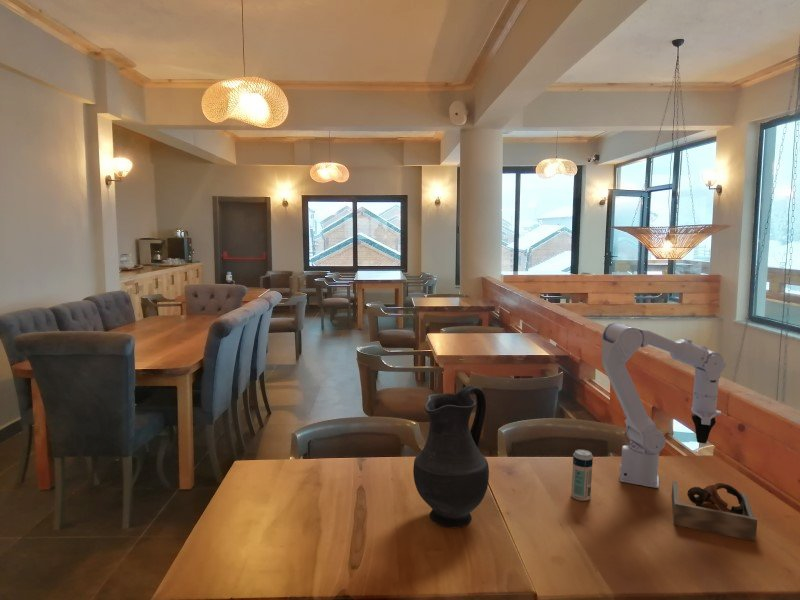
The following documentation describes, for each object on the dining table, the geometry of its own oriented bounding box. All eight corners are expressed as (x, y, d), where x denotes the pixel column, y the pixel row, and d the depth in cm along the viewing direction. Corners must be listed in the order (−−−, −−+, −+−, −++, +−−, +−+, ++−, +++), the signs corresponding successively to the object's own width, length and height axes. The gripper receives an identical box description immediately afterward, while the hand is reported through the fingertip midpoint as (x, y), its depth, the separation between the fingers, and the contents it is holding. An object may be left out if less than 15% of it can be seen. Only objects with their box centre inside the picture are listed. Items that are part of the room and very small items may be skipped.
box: (673, 524, 125) (675, 503, 125) (671, 495, 139) (673, 477, 139) (755, 541, 119) (757, 519, 118) (744, 509, 133) (746, 490, 132)
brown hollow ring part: (723, 504, 137) (742, 484, 132) (735, 538, 129) (754, 518, 124) (676, 490, 137) (693, 469, 132) (684, 522, 130) (702, 502, 125)
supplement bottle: (588, 493, 140) (590, 449, 139) (592, 502, 135) (595, 456, 134) (569, 492, 140) (571, 448, 139) (573, 501, 136) (575, 455, 134)
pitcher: (398, 517, 127) (399, 392, 124) (452, 488, 142) (455, 376, 139) (457, 546, 115) (461, 410, 112) (510, 511, 131) (514, 389, 127)
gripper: (725, 403, 139) (721, 454, 140) (719, 389, 152) (715, 436, 153) (694, 399, 141) (690, 449, 143) (690, 385, 155) (687, 431, 156)
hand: (701, 442), depth 148 cm, fingers closed
